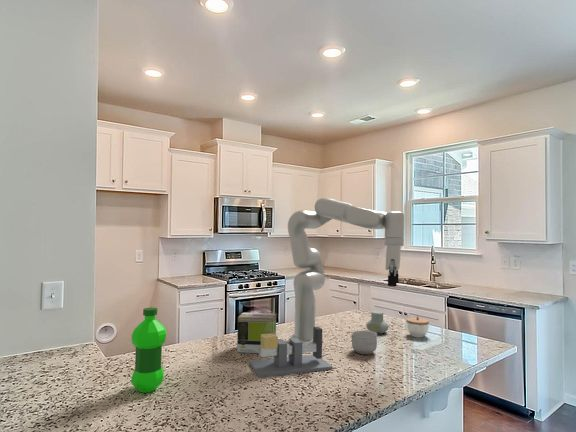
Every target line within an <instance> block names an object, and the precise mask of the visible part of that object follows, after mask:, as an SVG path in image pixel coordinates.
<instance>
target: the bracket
mask: <svg viewBox="0 0 576 432" xmlns="http://www.w3.org/2000/svg"><path fill="white" fill-rule="evenodd" d="M288 339H289V341H288V342H289V343H287V341H285V340H284V339H283V338H278V355H277V356H273V358H267V359H255V360H254V359H253V360H248V364H249V366H250V367H251V368H252V370H253V371H254V372H255V375H257V377H258V378H265V377H276V376H284V375H292V374H293V375H294V374H303V373H311V372H318V371H319V372H320V371H327V370H328V371H330V370H333V366H332V365H331V364H330V363H329V362H327V361H326V360H325V359H324V358H323V357H322V358H320V359H317V358H315V357H314V356H313V354H307V355H303V353H302V341H300V340H299V339H298V338H291V337H290V338H288ZM290 343H292V344H293V345H294V354H288V355H287V344H290Z"/></svg>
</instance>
